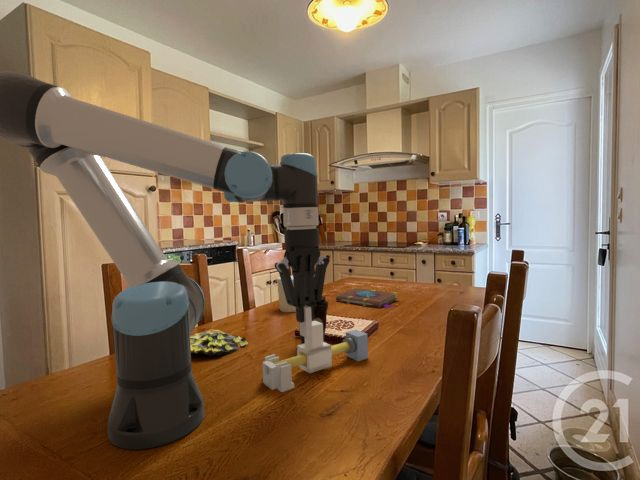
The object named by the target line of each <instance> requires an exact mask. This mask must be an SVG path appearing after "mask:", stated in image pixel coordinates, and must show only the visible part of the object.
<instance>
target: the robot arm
mask: <svg viewBox="0 0 640 480" xmlns="http://www.w3.org/2000/svg"><path fill="white" fill-rule="evenodd" d="M0 140H3V141H5V142H7V143H10V144H13V145H16V146H20V147H24V148H25V149H26V150H27V152H28V153H29V154H30V156H31V157H32V159H33V160H34V162H35V163H36V166H38V168H39V169H40V171H41V172H42V173H43V174H47V175H51V176H55V177H56V178H57V180H58V182H59V183H60V184H61V185H62V187H63V189H64V190H65V191H66V193H67V194H68V196H69V198H70V199H71V200H72V202H73V204H75V207H76V209H78V211H79V212H80V214H81V215H82V217H83V218H84V220H85V222H86V223H87V225H88V227H90V229H91V230H92V232H93V233H94V236H96V237H97V239H98V241H99V242H100V244H101V245H102V247H103V248H104V250H105V251H106V253H107V254H108V256H109V257H110V259H111V261H112V262H113V263H114V265H115V266H116V268H117V269H118V271H119V272H120V274H121V275H122V276H123V278H124V280H125V281H126V286H125V288H124V289H123V290H121V291H120V292H119V293H118V294H117V295H116V296H114V299H113V300H112V303H111V305H112V306H111V307H112V312H111V317H110V321H111V324H112V334H113V335H112V336H113V346H114V361H115V372H116V373H115V374H116V390H115V394H114V398H113V400H112V403H111V408H110V412H109V415H108V419H107V427H106V428H107V437H108V440H109V442H110V443H111V444H112V445H113V446H116V447H118V448H121V449H126V450H146V449H152V448H156V447H160V446H164V445H167V444H169V443H172V442H175V441H177V440H179V439H181V438H183V437H185V436H186V435H188V434H190V433H191V432H193V431H194V430H195V429H196V428H197V427H198V426H199V425H200V424H201V422H203V419H204V417H205V402H204V397H203V395H202V392H201V391H200V389H199V388H200V387H199V386H198V383H197V380H196V379H195V377H194V374H193V370H192V369H193V368H192V353H191V348H190V336H191V334H192V332H193V331H194V329H195V327H196V326H197V325H198V324H199V322H200V321H201V320H202V317H203V315H204V311H205V306H206V305H205V302H206V300H205V294H204V291H203V289H202V288H201V286H200V285H199V284H198V283H197V282H196V281H195V280H193V279H192V278H190V277H189V276H188V275H187V274H186V272H185V271H184V270H183V268H182V266H181V265H180V263H179V262H178V261H173V260H169V259H168V258H167V257H166V256H165V253H164V252H163V251H162V249H161V247H160V246H159V244H158V243H157V242H156V240H155V238H154V236H153V235H152V234H151V232H150V230H149V229H148V227H147V225H145V223H144V221H143V220H142V218H141V216H140V215H139V214H138V212H137V210H136V209H135V207H134V206H133V204H132V203H131V201H130V199H129V198H128V196H127V195H126V193H125V192H124V190H123V189H122V187H121V186H120V184H119V182H118V181H117V179H116V178H115V176H114V175H113V173H112V171H111V170H110V169H109V166H107V164H106V163H105V161H104V159H103V158H106V159H110V160H113V161H116V162H117V161H118V162H121V163H124V164H128V165H131V166H134V167H137V168H141V169H145V170H148V171H150V172H154V173H158V174H161V175H165V176H168V177H171V178H174V179H178V180H181V181H185V182H189V183H193V184H195V185H199V186H202V187H205V188H206V187H207V188H209V189H214V190H216V191H218V192H222V193H223V197H224V199H225V201H226V202H228V203H241V204H243V203H252V202H253V203H254V202H257V203H258V202H269V201H270V202H271V201H272V202H273V201H275V202H279V201H282V208H283V209H282V213H283V214H282V215H283V216H282V217H283V218H282V219H283V226H284V228H286V229H285V230H284V231H283V237H284V240H283V241H284V247H285V251H284V254H283V259H281V260H280V261H279V262H275V263H274V265H273V266H274V268H275V270H276V271H277V272H278V274H279V277H280V278H281V282H282V286H283V289H284V293H285V297H286V300H287V303H288V304H289V305H291V306H294V307H296V312H295V319H296V321H297V323H298V325H299V324H300V331H299V336H300V335H302V336H304V337H306V338H308V337H312V320H314V307H315V306H316V305H317V303H316V302H320V301H321V299H322V296H323V291H324V285H325V279H326V272H327V267H328V266H329V263H330V262H331V261H330V260H331V259H330V258H329V257H326V256H323V255H322V254H321V250H320V248H319V245H320V229H319V228H317V226H319V224H320V221H319V199H318V198H319V197H318V195H319V193H318V173H317V164H316V161H317V160H316V158H315V157H314V156H313V155H312V154H310V153H305V152H304V153H303V152H300V153H299V152H298V153H297V152H296V153H286V154H284V155H282V156H281V157H280V162H279V164H271V165H270V164H269V162H268V160H267V159H266V158H265V157H264V156H263V155H261V154H259V153H258V152H256V151H255V152H254V151H249V150H247V151H245V150H243V151H240V150H237V149H234V148H230V147H227V146H224V145H221V144H218V143H215V142H212V141H208V140H205V139H203V138H200V137H196V136H193V135H190V134H188V133H183V132H180V131H177V130H174V129H171V128H167V127H164V126H163V125H159V124H155V123H153V122H148V121H146V120H142V119H139V118H137V117H134V116H130V115H127V114H124V113H121V112H117V111H114V110H113V109H112V110H111V109H109V108H105V107H102V106H98V105H95V104H93V103H89V102H86V101H82V100H79V99H77V98H73V97H72V96H71V94H70V92H69V91H68V90H66V89H65V88H64V87H61V86H58V85H54V84H52V83H48V82H45V81H43V80H40V79H38V78H35V77H33V76H32V75H30V74H26V73H23V72H18V71H15V70H14V71H10V70H4V71H0ZM289 269H291V272H290V270H289ZM291 274H292V275H291ZM291 276H293V283H294V287H293V283H292V279H291ZM305 304H306V305H305Z"/></svg>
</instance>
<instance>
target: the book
mask: <svg viewBox="0 0 640 480" xmlns="http://www.w3.org/2000/svg"><path fill="white" fill-rule="evenodd" d="M398 295H399V292H396V291H392V292H388V291H382V290H378V289H377V288H373V287H372V289H365V288H359V287H352V288H351V289H349V290H347V291H344V292H342V293H340V294H337V295H336V296H335V300H336V302H339V303H343V304H344V303H345V304H347V305H350V304H351V305H358V306H362V307H371V308H376V309H382V308H385V309H391V308H394V306H392V305H390V304H391V303H393V302H396V301H398V299H399V298H397V297H396V296H398Z"/></svg>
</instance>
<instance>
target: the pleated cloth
mask: <svg viewBox="0 0 640 480" xmlns="http://www.w3.org/2000/svg"><path fill="white" fill-rule="evenodd" d="M248 344H249V342H248V341H247V340H246V337H240V336H239V335H233V334H229V333H227V332H224V331H222V330H221V329H213V328H211V329H207V330H204V331H200V332H198V333H195V332H194V334H193V335H190V348H191V355H192V354H194V355H195V354H196V355H198V354H203V355H207V356H209V357H212V356H223V355H227V354H232V353H233V352H236V351H239V350H240V349H242V348H244V347H245V346H247V345H248Z"/></svg>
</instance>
